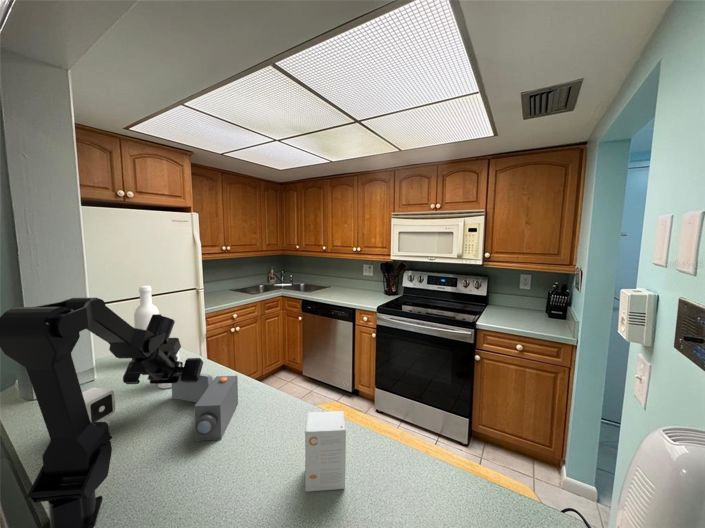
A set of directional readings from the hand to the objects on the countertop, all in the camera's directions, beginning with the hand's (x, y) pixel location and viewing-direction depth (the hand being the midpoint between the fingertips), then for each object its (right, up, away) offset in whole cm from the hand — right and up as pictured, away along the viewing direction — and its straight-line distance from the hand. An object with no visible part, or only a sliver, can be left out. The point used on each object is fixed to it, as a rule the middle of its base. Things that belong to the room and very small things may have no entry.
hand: (175, 380), depth 85 cm
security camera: (-13, -8, -13) cm, 20 cm away
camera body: (+16, -8, -9) cm, 20 cm away
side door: (+5, -6, +1) cm, 8 cm away
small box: (+48, -10, -25) cm, 55 cm away
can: (-8, -5, +9) cm, 13 cm away
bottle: (-25, -3, +24) cm, 35 cm away
